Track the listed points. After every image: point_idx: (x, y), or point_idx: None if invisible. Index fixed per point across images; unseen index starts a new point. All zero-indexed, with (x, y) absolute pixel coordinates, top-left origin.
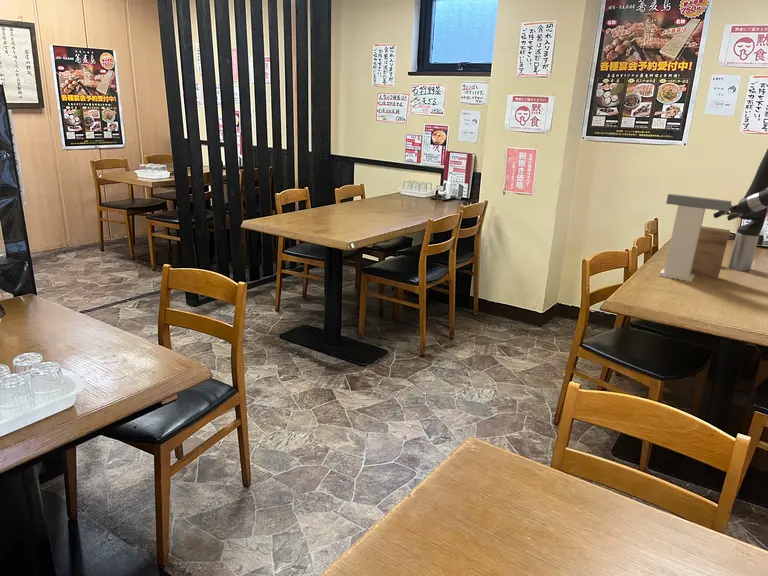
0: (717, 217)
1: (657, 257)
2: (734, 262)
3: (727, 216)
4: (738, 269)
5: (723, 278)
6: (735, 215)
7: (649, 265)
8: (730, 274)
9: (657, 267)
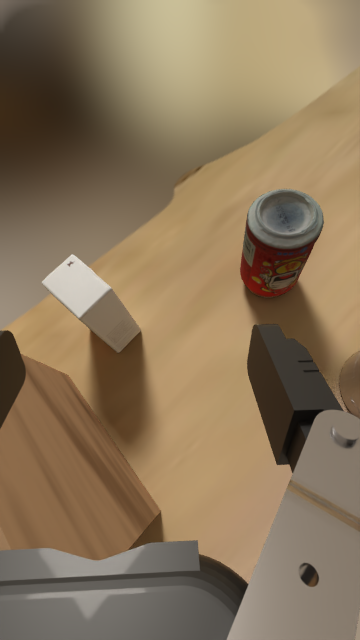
0: (13, 400)
1: (141, 231)
2: (354, 391)
3: (254, 327)
4: (357, 417)
5: (174, 528)
6: (292, 450)
7: (22, 321)
8: (264, 471)
9: (28, 346)
